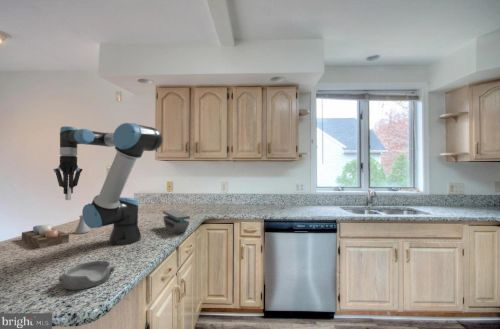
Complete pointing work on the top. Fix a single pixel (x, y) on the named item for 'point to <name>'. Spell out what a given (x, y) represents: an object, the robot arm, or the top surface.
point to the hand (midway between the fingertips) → (68, 199)
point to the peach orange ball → (51, 233)
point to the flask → (82, 226)
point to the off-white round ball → (44, 229)
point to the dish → (86, 274)
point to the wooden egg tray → (44, 239)
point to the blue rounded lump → (36, 229)
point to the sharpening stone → (175, 221)
